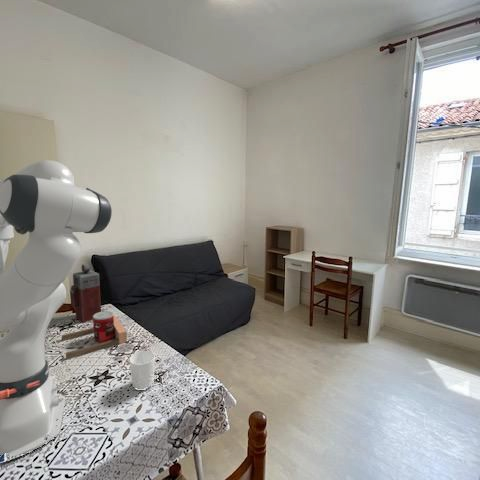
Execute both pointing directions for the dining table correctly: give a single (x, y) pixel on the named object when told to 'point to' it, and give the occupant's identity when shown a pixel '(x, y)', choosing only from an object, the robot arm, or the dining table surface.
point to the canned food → (103, 326)
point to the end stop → (119, 331)
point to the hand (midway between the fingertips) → (1, 273)
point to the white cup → (142, 369)
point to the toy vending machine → (86, 294)
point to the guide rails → (90, 348)
